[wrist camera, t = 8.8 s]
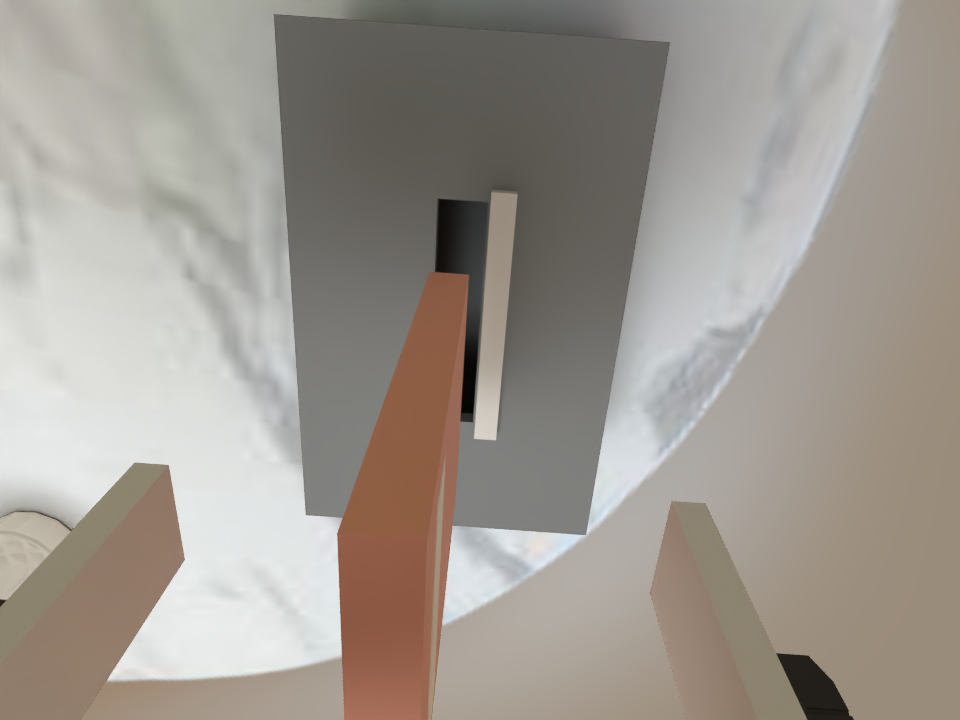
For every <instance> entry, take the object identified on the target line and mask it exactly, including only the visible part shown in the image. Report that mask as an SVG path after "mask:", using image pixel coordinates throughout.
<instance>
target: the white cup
mask: <svg viewBox="0 0 960 720" xmlns="http://www.w3.org/2000/svg"><path fill="white" fill-rule="evenodd" d="M70 532H71V531H70V530H69V529H68V528H66V527H65V526H64V525H63V524H61V523H60V522H59V521H57V520H55V519H52V518H50V517H47V516H45V515H42V514H39V513H36V512H13V513H11V514H9V515H6V516H4V517H1V518H0V599H2V600H7V599H8V598H9V597H10V596H11V595H12V594H13V593H14V592H15V591H16V590H17V588H18V587H19V586H20V585H21V584H22V583H23V582H24V581H25V580H26V579H27V578H28V577H29V576H30V575H31V573H32V572H33V571H34V570H35V569H36V568H37V567H38V566H39V565H40V564H41V563H42V562H43V561H44V560H45V558H46V557H47V556H48V555H49V554H50V553H51V552H52V551H53V550H54V549H55V548H56V547H57V546H58V545H59V543H60V542H61V541H62V540H63V539H64V538H65V537H66V536H67V535H68V534H69V533H70Z"/></svg>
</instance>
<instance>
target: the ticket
mask: <svg viewBox="0 0 960 720" xmlns="http://www.w3.org/2000/svg"><path fill="white" fill-rule="evenodd" d="M468 282H469V275H467V274H453V273H439V272H430V273H429V276H428V278H427V281H426V284H425V287H424V290H423V293H422V295H421V298H420V301H419V304H418V307H417V310H416V312H415V315H414V318H413V321H412V324H411V327H410V329H409V332H408V335H407V338H406V341H405V344H404V346H403V349H402V352H401V355H400V358H399V361H398V363H397V366H396V369H395V372H394V375H393V377H392V380H391V383H390V386H389V389H388V392H387V394H386V397H385V400H384V403H383V406H382V409H381V411H380V414H379V417H378V420H377V423H376V426H375V428H374V431H373V434H372V437H371V440H370V443H369V445H368V448H367V451H366V454H365V457H364V460H363V462H362V465H361V468H360V471H359V474H358V476H357V479H356V482H355V485H354V488H353V491H352V493H351V496H350V499H349V502H348V505H347V508H346V510H345V513H344V516H343V519H342V522H341V525H340V527H339V530H338V533H337V536H338V562H339V588H340V614H341V640H342V665H343V692H344V718H345V720H431V719H432V709H433V701H434V692H435V682H436V673H437V664H438V655H439V654H438V653H439V645H440V636H441V627H442V617H443V608H444V599H445V589H446V580H447V571H448V561H449V552H450V543H451V533H452V524H453V515H454V505H455V496H456V485H457V468H458V451H459V434H460V418H461V401H462V384H463V367H464V350H465V333H466V316H467V299H468Z"/></svg>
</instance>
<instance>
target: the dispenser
mask: <svg viewBox="0 0 960 720" xmlns="http://www.w3.org/2000/svg"><path fill="white" fill-rule="evenodd" d="M274 23H275V39H276V55H277V70H278V86H279V102H280V117H281V133H282V149H283V164H284V180H285V195H286V211H287V227H288V242H289V258H290V274H291V289H292V305H293V321H294V336H295V352H296V368H297V383H298V399H299V415H300V430H301V446H302V462H303V477H304V493H305V509H306V515H313V516H327V517H341V518H343V516H344V513H345V510H346V508H347V505H348V502H349V499H350V496H351V493H352V491H353V488H354V485H355V482H356V479H357V476H358V474H359V471H360V468H361V465H362V462H363V460H364V457H365V454H366V451H367V448H368V445H369V443H370V440H371V437H372V434H373V431H374V428H375V426H376V423H377V420H378V417H379V414H380V411H381V409H382V406H383V403H384V400H385V397H386V394H387V392H388V389H389V386H390V383H391V380H392V377H393V375H394V372H395V369H396V366H397V363H398V361H399V358H400V355H401V352H402V349H403V346H404V344H405V341H406V338H407V335H408V332H409V329H410V327H411V324H412V321H413V318H414V315H415V312H416V310H417V307H418V304H419V301H420V298H421V295H422V293H423V290H424V287H425V284H426V281H427V278H428V276H429V273H430V272H439V273H453V274H467V275H469V282H468V299H467V316H466V333H465V350H464V367H463V384H462V401H461V418H460V434H459V451H458V468H457V485H456V496H455V505H454V515H453V524H452V525H453V526H467V527H481V528H495V529H509V530H523V531H537V532H551V533H565V534H579V535H586V531H587V525H588V520H589V514H590V508H591V502H592V496H593V490H594V484H595V478H596V473H597V467H598V461H599V455H600V449H601V443H602V437H603V432H604V426H605V420H606V414H607V408H608V402H609V396H610V390H611V385H612V379H613V373H614V367H615V361H616V355H617V349H618V343H619V338H620V332H621V326H622V320H623V314H624V308H625V302H626V297H627V291H628V285H629V279H630V273H631V267H632V261H633V255H634V250H635V244H636V238H637V232H638V226H639V220H640V214H641V209H642V203H643V197H644V191H645V185H646V179H647V173H648V167H649V162H650V156H651V150H652V144H653V138H654V132H655V126H656V121H657V115H658V109H659V103H660V97H661V91H662V85H663V79H664V74H665V68H666V62H667V56H668V50H669V44H670V42H657V41H643V40H629V39H615V38H601V37H587V36H572V35H558V34H544V33H530V32H516V31H502V30H488V29H474V28H460V27H446V26H431V25H417V24H403V23H389V22H375V21H361V20H347V19H333V18H319V17H305V16H291V15H276V14H274Z"/></svg>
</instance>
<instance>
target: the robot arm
mask: <svg viewBox="0 0 960 720" xmlns="http://www.w3.org/2000/svg"><path fill="white" fill-rule="evenodd" d="M184 560H185V558H184V553H183V547H182V541H181V535H180V529H179V523H178V517H177V512H176V506H175V500H174V494H173V488H172V482H171V476H170V470H169V465H159V464H145V463H134V464H133V465H132V466H131V467H130V468H129V469H128V471H127V472H126V473H125V474H124V475H123V476H122V477H121V478H120V479H119V480H118V481H117V482H116V483H115V484H114V486H113V487H112V488H111V489H110V490H109V491H108V492H107V493H106V494H105V495H104V496H103V497H102V498H101V500H100V501H99V502H98V503H97V504H96V505H95V506H94V507H93V508H92V509H91V510H90V511H89V512H88V513H87V515H86V516H85V517H84V518H83V519H82V520H81V521H80V522H79V523H78V524H77V525H76V526H75V527H74V528H73V530H72V531H71V532H70V533H69V534H68V535H67V536H66V537H65V538H64V539H63V540H62V541H61V542H60V543H59V545H58V546H57V547H56V548H55V549H54V550H53V551H52V552H51V553H50V554H49V555H48V556H47V557H46V558H45V560H44V561H43V562H42V563H41V564H40V565H39V566H38V567H37V568H36V569H35V570H34V571H33V572H32V573H31V575H30V576H29V577H28V578H27V579H26V580H25V581H24V582H23V583H22V584H21V585H20V586H19V587H18V588H17V590H16V591H15V592H14V593H13V594H12V595H11V596H10V597H9V598H8V599H7V600H2V599H0V720H81V719H82V718H83V716H84V714H85V713H86V711H87V710H88V708H89V707H90V705H91V704H92V702H93V701H94V699H95V698H96V696H97V694H98V693H99V691H100V690H101V688H102V687H103V685H104V683H105V682H106V681H107V679H108V677H109V676H110V674H111V673H112V671H113V670H114V668H115V667H116V665H117V664H118V662H119V660H120V659H121V657H122V656H123V654H124V653H125V651H126V650H127V648H128V647H129V645H130V643H131V642H132V640H133V639H134V637H135V636H136V634H137V633H138V631H139V630H140V628H141V626H142V625H143V623H144V622H145V620H146V619H147V617H148V616H149V614H150V612H151V611H152V609H153V608H154V606H155V605H156V603H157V602H158V600H159V599H160V597H161V595H162V594H163V592H164V591H165V589H166V588H167V586H168V585H169V583H170V582H171V580H172V578H173V577H174V575H175V574H176V572H177V571H178V569H179V568H180V566H181V565H182V563H183V561H184ZM650 594H651V597H652V601H653V605H654V609H655V612H656V616H657V619H658V623H659V626H660V630H661V633H662V637H663V640H664V644H665V647H666V651H667V654H668V658H669V662H670V665H671V669H672V672H673V675H674V679H675V683H676V686H677V690H678V693H679V697H680V700H681V704H682V707H683V711H684V714H685V718H686V720H854V719H853V717H852V716H849V713H848V711H849V710H848V708H847V706H846V705H845V703H844V701H843V699H842V697H841V695H840V693H839V692H838V690H837V688H836V686H835V684H834V682H833V681H832V680H831V679H830V678H829V677H828V676H827V675H826V674H825V673H824V672H823V671H822V670H821V669H820V668H819V666H818V665H817V664H815V662H814V661H813V660H812V659H811V658H810V657H809V656H805V655H790V654H778V653H776V652H775V650H774V648H773V646H772V644H771V642H770V640H769V637H768V635H767V633H766V631H765V629H764V627H763V625H762V622H761V621H760V618H759V616H758V614H757V612H756V610H755V608H754V605H753V603H752V601H751V599H750V597H749V595H748V593H747V591H746V588H745V586H744V584H743V582H742V580H741V578H740V576H739V574H738V572H737V570H736V567H735V565H734V563H733V561H732V559H731V557H730V555H729V552H728V550H727V548H726V546H725V544H724V542H723V540H722V538H721V535H720V534H719V531H718V529H717V527H716V525H715V523H714V521H713V519H712V516H711V515H710V512H709V510H708V508H707V506H706V504H704V503H690V502H676V501H672V502H671V506H670V510H669V515H668V519H667V523H666V527H665V532H664V536H663V540H662V544H661V549H660V553H659V557H658V561H657V565H656V570H655V575H654V579H653V582H652V587H651V591H650Z"/></svg>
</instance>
